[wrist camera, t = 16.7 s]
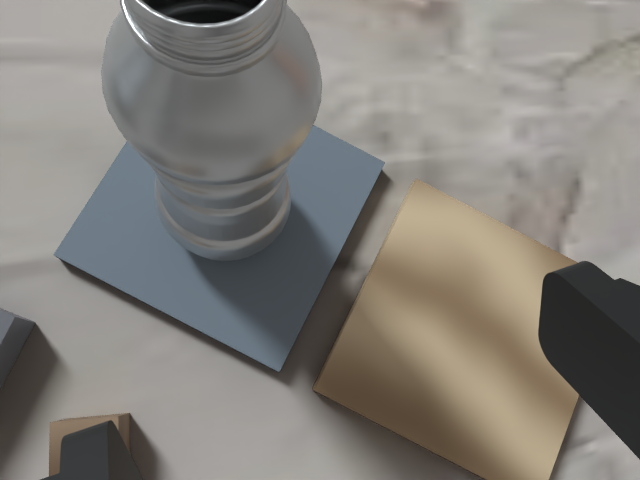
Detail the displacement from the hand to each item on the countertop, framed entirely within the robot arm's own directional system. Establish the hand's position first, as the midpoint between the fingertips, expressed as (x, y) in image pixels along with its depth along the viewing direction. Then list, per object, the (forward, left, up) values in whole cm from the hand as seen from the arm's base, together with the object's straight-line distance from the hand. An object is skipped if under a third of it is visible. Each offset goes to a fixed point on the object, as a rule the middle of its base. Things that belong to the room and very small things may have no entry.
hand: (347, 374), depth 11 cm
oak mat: (+7, -8, -22) cm, 24 cm away
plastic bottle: (+6, +7, -21) cm, 23 cm away
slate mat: (+7, +7, -22) cm, 24 cm away
